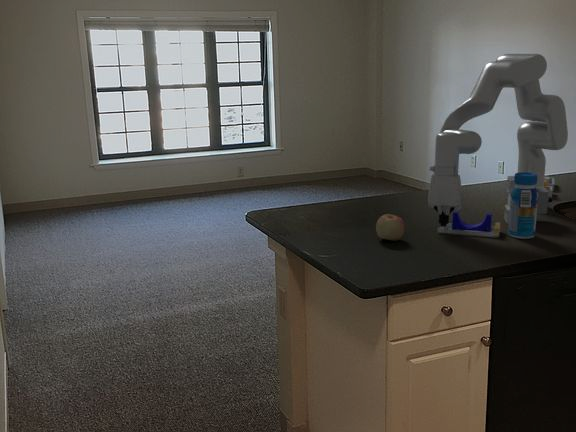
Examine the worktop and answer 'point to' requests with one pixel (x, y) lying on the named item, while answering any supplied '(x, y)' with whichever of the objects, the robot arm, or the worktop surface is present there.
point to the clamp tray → (548, 188)
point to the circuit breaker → (541, 199)
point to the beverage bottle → (523, 206)
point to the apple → (390, 227)
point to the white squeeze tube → (494, 231)
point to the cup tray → (551, 183)
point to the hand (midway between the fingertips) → (443, 225)
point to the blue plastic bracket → (462, 225)
